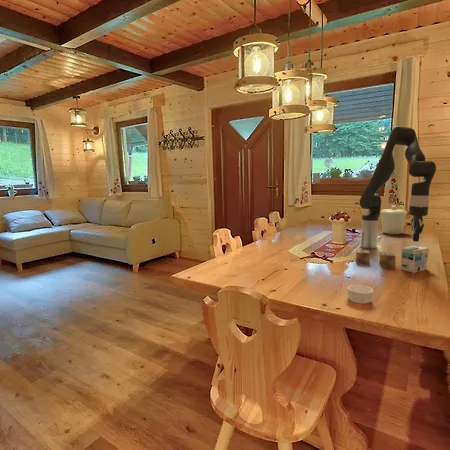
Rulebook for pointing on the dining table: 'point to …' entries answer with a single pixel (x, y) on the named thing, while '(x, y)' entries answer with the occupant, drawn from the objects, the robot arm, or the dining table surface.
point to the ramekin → (360, 294)
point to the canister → (393, 220)
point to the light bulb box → (414, 258)
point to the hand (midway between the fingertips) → (415, 241)
